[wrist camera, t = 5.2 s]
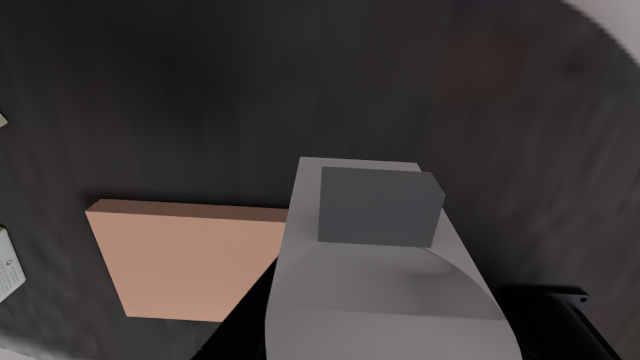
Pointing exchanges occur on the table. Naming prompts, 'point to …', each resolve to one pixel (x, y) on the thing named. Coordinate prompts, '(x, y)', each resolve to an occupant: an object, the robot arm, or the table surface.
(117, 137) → the table surface
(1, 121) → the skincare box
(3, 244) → the small box
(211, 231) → the terracotta tile
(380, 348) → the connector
